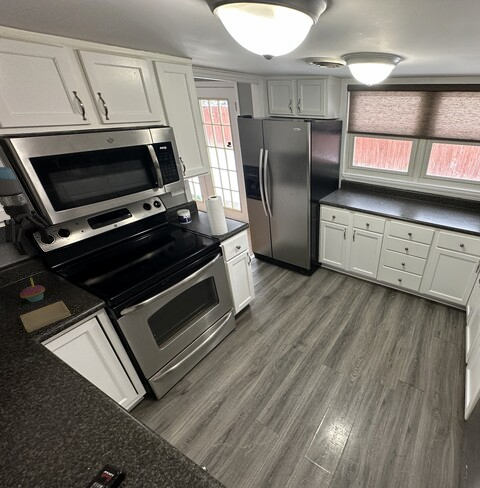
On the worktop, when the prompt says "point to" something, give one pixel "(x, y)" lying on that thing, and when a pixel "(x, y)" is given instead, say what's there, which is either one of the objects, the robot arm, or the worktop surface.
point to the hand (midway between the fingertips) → (36, 248)
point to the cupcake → (33, 292)
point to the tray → (45, 316)
